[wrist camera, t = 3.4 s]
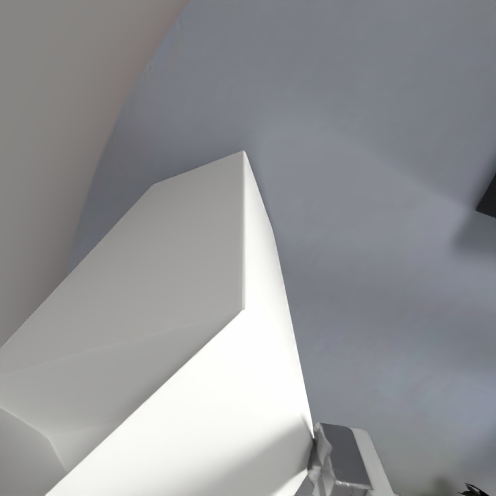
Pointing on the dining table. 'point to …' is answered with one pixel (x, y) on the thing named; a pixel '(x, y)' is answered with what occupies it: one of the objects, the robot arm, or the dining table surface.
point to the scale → (489, 201)
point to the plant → (473, 491)
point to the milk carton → (162, 357)
